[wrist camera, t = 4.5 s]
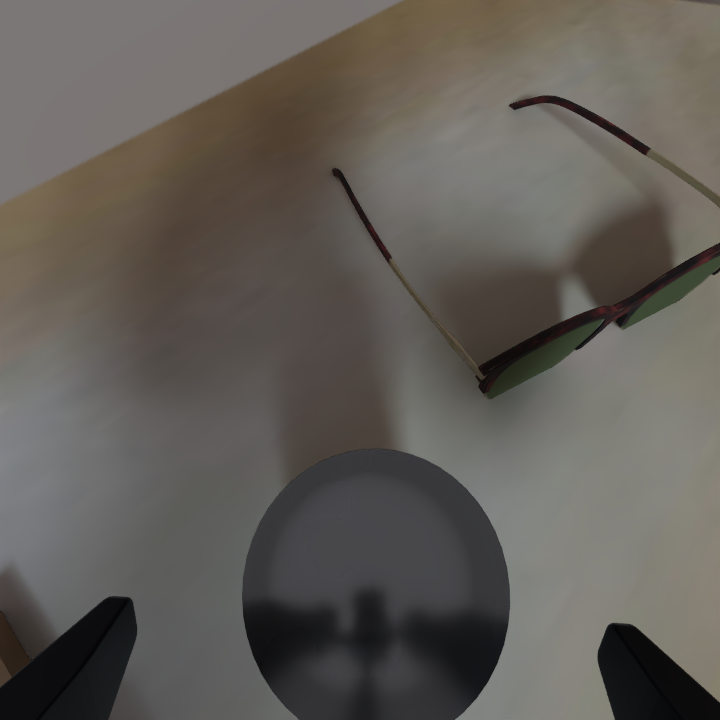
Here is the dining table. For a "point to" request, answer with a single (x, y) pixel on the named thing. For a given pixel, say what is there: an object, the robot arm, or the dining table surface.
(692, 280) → the sunglasses
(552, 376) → the dining table surface
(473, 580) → the silver metal cylinder
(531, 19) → the dining table surface
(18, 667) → the door lock
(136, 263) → the dining table surface
